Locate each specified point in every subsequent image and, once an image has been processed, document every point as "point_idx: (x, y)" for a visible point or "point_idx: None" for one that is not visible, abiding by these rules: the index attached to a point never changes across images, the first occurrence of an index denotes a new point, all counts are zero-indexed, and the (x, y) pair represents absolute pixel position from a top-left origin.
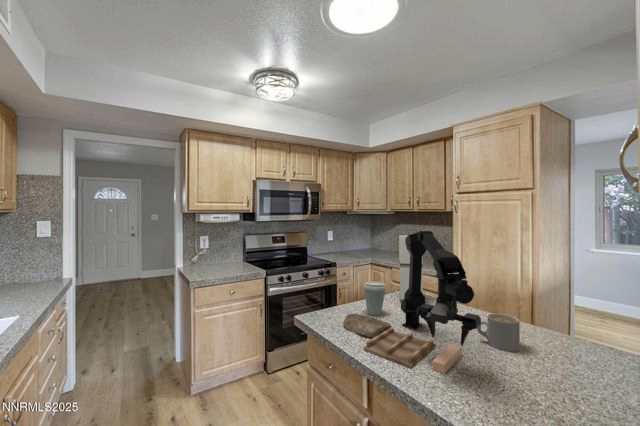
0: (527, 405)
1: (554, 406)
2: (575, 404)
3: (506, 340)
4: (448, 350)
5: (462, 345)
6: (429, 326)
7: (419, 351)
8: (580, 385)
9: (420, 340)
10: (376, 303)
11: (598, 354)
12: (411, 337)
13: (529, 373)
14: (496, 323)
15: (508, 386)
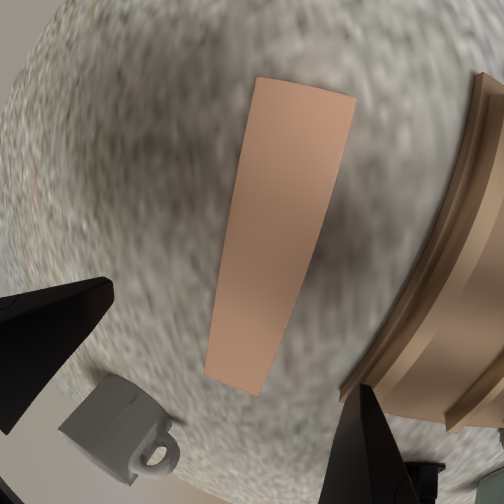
0: (38, 82)
1: (15, 125)
2: (3, 163)
3: (99, 398)
4: (259, 323)
5: (100, 277)
6: (401, 488)
7: (467, 238)
8: (12, 248)
9: (415, 406)
10: (501, 501)
11: None
12: (455, 410)
13: (52, 266)
14: (92, 446)
15: (60, 151)
